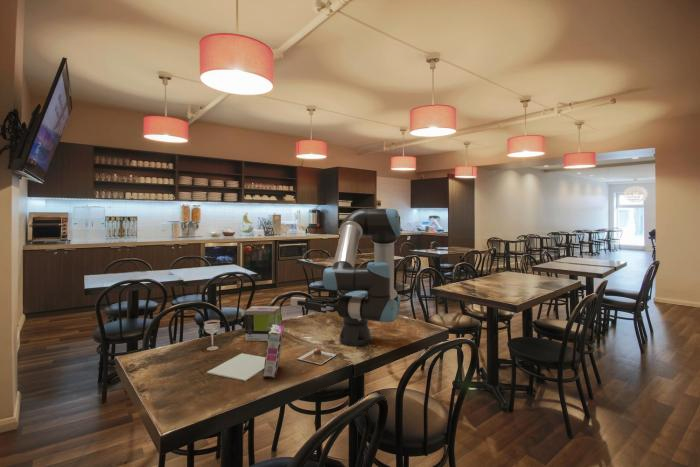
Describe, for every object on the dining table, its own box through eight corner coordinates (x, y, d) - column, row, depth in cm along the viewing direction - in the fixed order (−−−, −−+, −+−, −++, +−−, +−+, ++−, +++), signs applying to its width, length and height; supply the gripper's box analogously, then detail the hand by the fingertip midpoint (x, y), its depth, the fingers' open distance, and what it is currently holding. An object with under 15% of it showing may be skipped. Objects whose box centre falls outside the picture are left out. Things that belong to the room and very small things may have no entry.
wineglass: (215, 351, 157) (214, 324, 156) (201, 350, 158) (200, 323, 158) (223, 346, 164) (223, 320, 163) (210, 345, 165) (209, 319, 164)
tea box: (281, 335, 179) (281, 305, 178) (275, 342, 169) (275, 311, 168) (252, 334, 180) (251, 305, 180) (244, 341, 170) (244, 310, 170)
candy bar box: (276, 378, 131) (281, 334, 130) (262, 377, 130) (267, 332, 130) (279, 365, 142) (284, 325, 141) (266, 364, 141) (271, 323, 141)
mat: (277, 360, 147) (277, 359, 147) (245, 381, 128) (245, 380, 128) (241, 354, 154) (241, 353, 154) (206, 373, 135) (206, 371, 135)
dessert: (337, 357, 152) (337, 345, 152) (321, 367, 142) (320, 355, 141) (314, 351, 158) (314, 341, 158) (296, 361, 148) (296, 349, 147)
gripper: (343, 323, 116) (281, 315, 125) (358, 313, 129) (301, 307, 138) (343, 300, 116) (281, 294, 125) (358, 292, 128) (301, 287, 137)
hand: (292, 301), depth 131 cm, fingers closed
